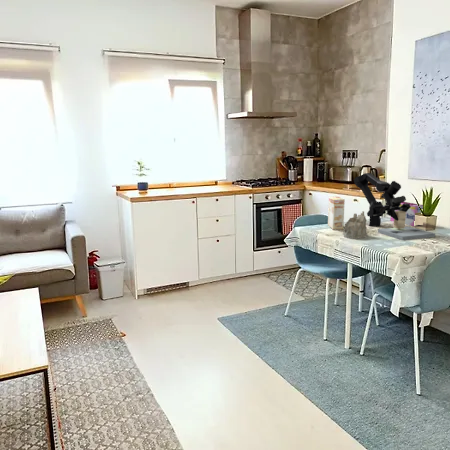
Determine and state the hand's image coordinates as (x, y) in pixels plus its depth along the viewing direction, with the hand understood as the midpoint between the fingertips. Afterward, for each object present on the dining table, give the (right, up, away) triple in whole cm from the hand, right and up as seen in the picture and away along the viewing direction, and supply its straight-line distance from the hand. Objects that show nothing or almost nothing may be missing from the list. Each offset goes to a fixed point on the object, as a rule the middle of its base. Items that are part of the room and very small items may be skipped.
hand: (401, 220), depth 255 cm
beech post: (0, -5, +2) cm, 5 cm away
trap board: (+1, -9, -3) cm, 9 cm away
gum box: (+17, -2, +32) cm, 36 cm away
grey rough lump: (-30, -10, -2) cm, 31 cm away
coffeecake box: (-34, -5, +21) cm, 40 cm away
